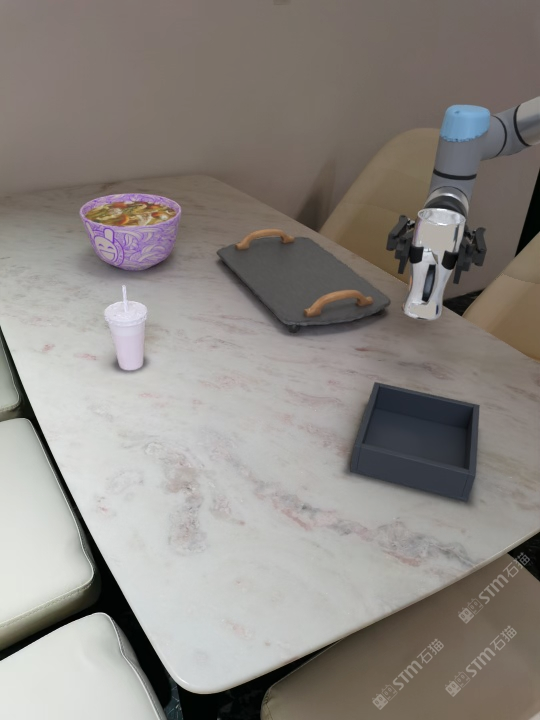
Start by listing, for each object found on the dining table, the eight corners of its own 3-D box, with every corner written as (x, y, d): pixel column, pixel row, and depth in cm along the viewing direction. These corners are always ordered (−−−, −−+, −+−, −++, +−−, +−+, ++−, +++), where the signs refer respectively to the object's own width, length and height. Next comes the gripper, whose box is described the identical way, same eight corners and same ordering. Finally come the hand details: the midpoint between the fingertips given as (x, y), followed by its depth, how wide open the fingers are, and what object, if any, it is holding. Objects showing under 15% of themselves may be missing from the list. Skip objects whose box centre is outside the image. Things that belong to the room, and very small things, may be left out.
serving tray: (209, 257, 130) (208, 230, 126) (302, 243, 139) (304, 217, 135) (291, 345, 101) (293, 313, 98) (401, 321, 110) (407, 291, 107)
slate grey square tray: (471, 430, 85) (479, 404, 82) (466, 502, 73) (475, 475, 70) (370, 406, 88) (374, 381, 85) (349, 472, 76) (354, 445, 74)
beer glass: (405, 296, 95) (423, 204, 86) (449, 307, 92) (471, 213, 84) (392, 314, 89) (410, 218, 81) (438, 326, 87) (461, 228, 79)
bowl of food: (88, 287, 115) (81, 230, 109) (84, 247, 131) (77, 195, 125) (191, 279, 120) (189, 224, 114) (175, 241, 136) (173, 191, 130)
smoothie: (113, 378, 91) (103, 297, 83) (107, 356, 96) (97, 277, 88) (155, 371, 93) (149, 291, 85) (147, 350, 98) (141, 272, 90)
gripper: (499, 247, 100) (497, 307, 82) (382, 228, 105) (355, 281, 86) (511, 203, 96) (512, 256, 77) (388, 186, 101) (362, 232, 82)
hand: (429, 269), depth 82 cm, fingers closed on beer glass, 7 cm apart
